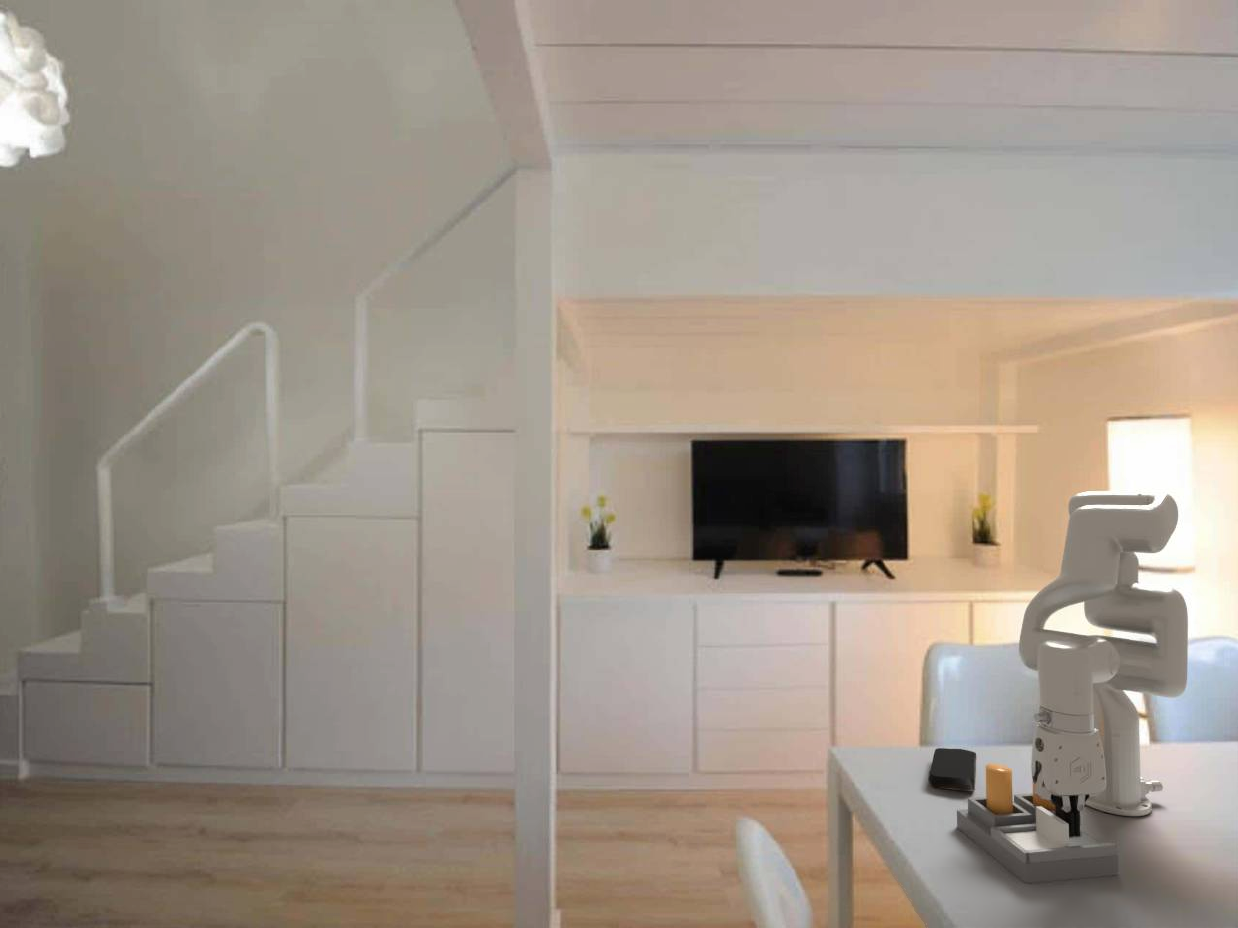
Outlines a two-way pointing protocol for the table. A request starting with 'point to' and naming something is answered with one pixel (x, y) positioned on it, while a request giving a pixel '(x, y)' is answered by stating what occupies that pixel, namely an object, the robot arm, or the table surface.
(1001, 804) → the peg
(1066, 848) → the housing
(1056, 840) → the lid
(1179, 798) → the table surface
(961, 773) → the black sponge
